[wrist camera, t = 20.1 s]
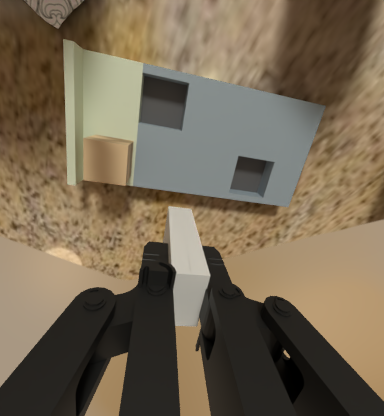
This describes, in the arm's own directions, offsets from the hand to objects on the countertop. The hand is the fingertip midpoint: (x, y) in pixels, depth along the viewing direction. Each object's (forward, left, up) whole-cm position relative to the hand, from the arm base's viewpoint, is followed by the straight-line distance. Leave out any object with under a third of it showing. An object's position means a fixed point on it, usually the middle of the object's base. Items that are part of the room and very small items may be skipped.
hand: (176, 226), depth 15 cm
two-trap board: (-4, -4, -22) cm, 23 cm away
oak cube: (+8, 0, -19) cm, 21 cm away
